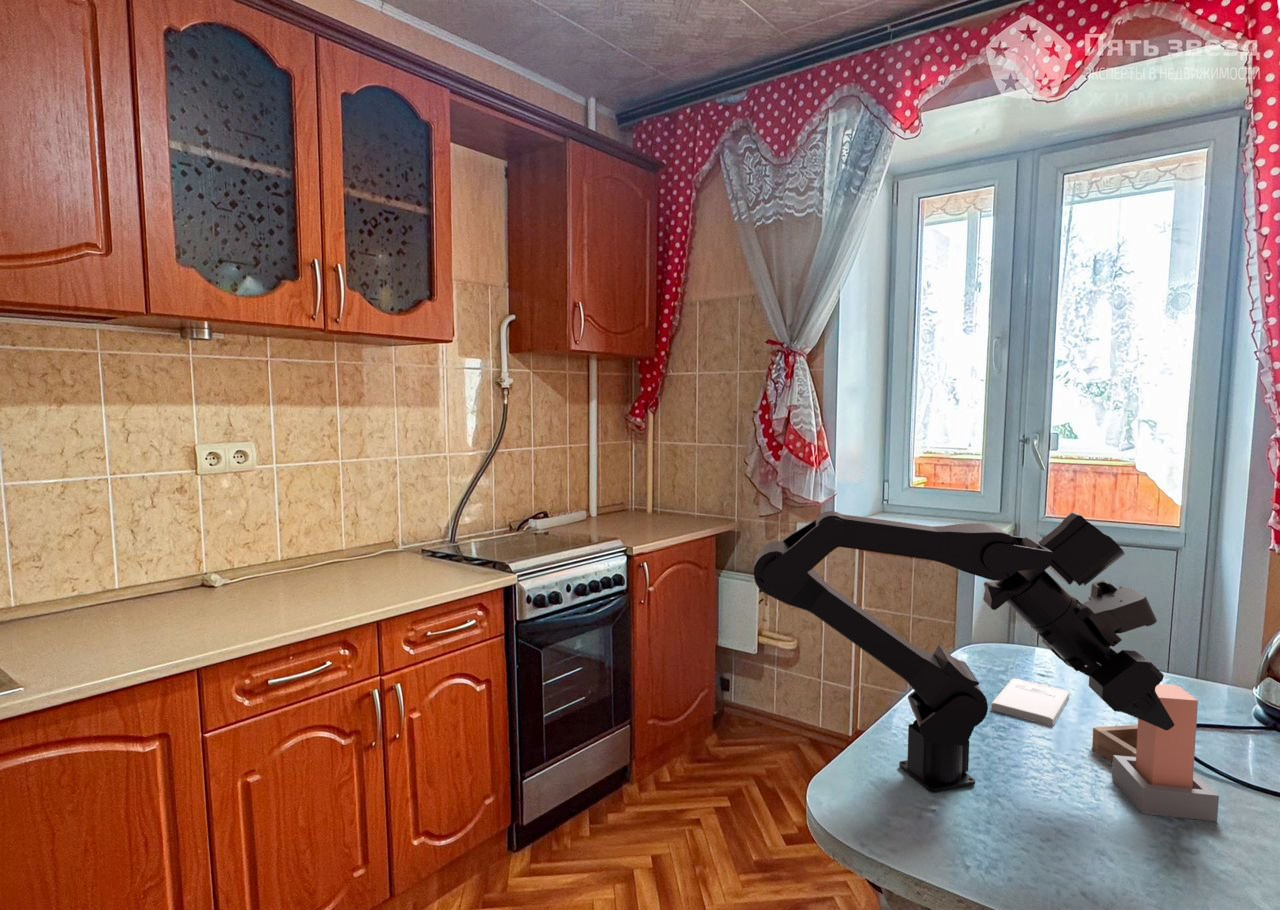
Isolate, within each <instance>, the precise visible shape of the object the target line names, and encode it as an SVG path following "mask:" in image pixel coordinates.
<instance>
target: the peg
mask: <svg viewBox="0 0 1280 910" xmlns="http://www.w3.org/2000/svg"><path fill="white" fill-rule="evenodd" d="M1155 691H1156V693H1157V695H1158V697H1159V699H1160V701H1161V702H1162V704H1163V706H1164V707H1165V709H1166V711H1167V712H1168V714H1169V716H1170V717H1171V719H1172V721H1173V722H1174V726H1173V727H1172V728H1171V729H1169V730H1164V729H1161V728H1159V727H1157V726H1155V725H1152V724H1150V723H1148V722H1145V721H1143V720H1141V719H1138V718H1137V725H1138V731H1137V748H1136V766H1135V770H1136V771H1137V772H1138V773H1139V774H1140V775H1141V776H1142V777H1143V778H1144V780H1145V781H1146V782H1147V783H1148V784H1150V785H1161V786H1171V787H1181V788H1191V789H1192V786H1193V772H1194V770H1195V767H1194V766H1195V754H1196V739H1197V738H1196V737H1197V724H1198V723H1197V722H1198V706H1199V705H1198V704H1199V700H1198V699H1197V698H1196V697H1194V696H1193V695H1191V694H1190V693H1189V692H1188V691H1186V690H1185V689H1184V688H1182V687H1180V686H1179V685H1170V684H1169V685H1168V684H1158V685H1157V686H1156V688H1155Z"/></svg>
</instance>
